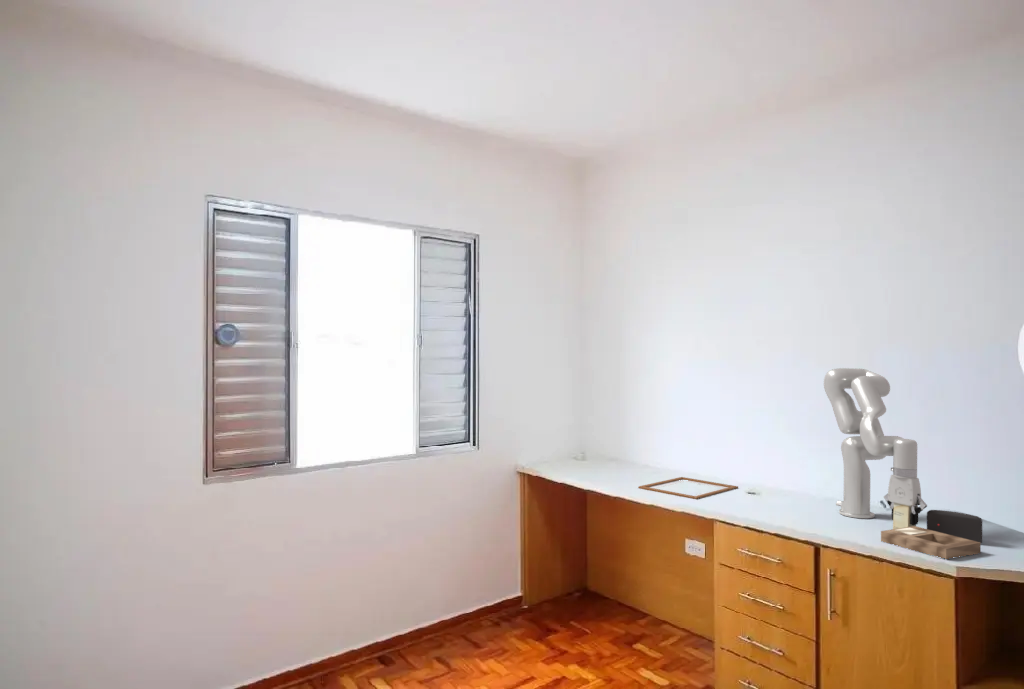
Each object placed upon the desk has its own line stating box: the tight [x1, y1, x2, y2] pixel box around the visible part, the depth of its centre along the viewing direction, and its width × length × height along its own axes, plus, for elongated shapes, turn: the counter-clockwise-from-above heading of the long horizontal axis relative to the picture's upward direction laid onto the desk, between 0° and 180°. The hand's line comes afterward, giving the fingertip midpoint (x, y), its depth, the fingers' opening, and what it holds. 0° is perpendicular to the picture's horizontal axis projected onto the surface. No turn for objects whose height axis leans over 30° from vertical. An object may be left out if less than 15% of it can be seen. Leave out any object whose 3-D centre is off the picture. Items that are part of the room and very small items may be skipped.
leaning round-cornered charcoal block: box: [926, 509, 983, 544], centre depth 230 cm, size 16×5×9 cm, turn 49°
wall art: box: [637, 476, 739, 500], centre depth 312 cm, size 31×2×38 cm
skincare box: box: [892, 503, 917, 529], centre depth 239 cm, size 6×4×12 cm
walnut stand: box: [880, 525, 982, 560], centre depth 220 cm, size 22×18×4 cm
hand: (904, 521), depth 239 cm, fingers closed on skincare box, 6 cm apart
